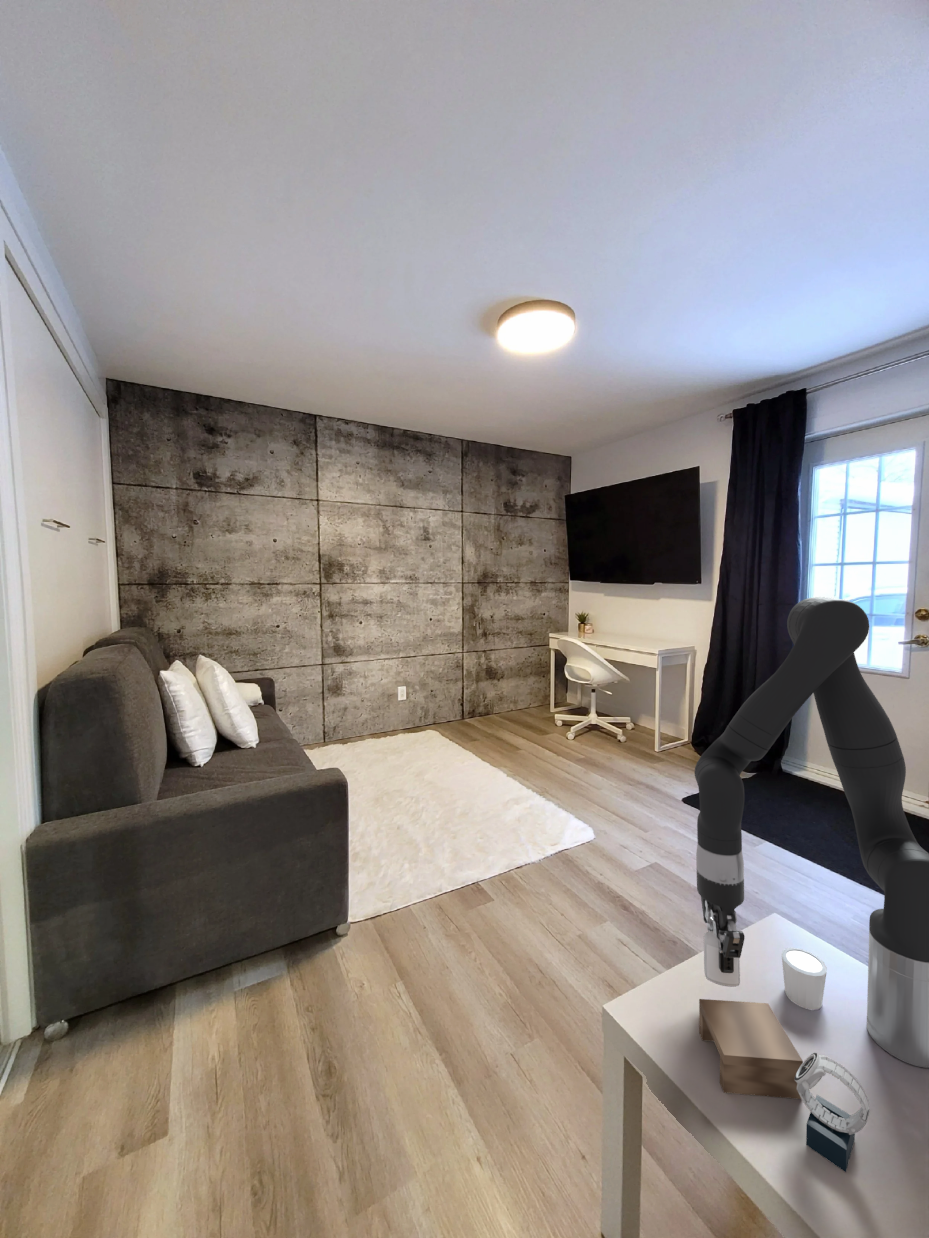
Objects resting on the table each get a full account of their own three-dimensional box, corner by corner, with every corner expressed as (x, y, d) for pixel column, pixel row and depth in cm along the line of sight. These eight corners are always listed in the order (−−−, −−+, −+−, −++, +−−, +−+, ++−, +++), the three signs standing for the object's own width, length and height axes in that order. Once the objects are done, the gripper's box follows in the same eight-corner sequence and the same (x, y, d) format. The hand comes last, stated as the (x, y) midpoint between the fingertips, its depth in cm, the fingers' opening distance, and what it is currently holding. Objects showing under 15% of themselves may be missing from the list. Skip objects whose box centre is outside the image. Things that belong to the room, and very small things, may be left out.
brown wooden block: (767, 1037, 82) (768, 1003, 81) (802, 1099, 72) (802, 1060, 72) (699, 1032, 83) (699, 998, 83) (723, 1092, 73) (724, 1054, 73)
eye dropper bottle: (733, 995, 84) (732, 928, 84) (700, 977, 89) (699, 913, 88) (743, 981, 87) (742, 916, 87) (710, 964, 91) (709, 902, 91)
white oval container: (811, 982, 93) (812, 947, 92) (835, 1014, 86) (836, 976, 85) (773, 980, 93) (774, 946, 93) (794, 1011, 87) (794, 974, 86)
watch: (800, 1104, 71) (801, 1033, 71) (871, 1150, 65) (873, 1072, 65) (789, 1133, 67) (790, 1058, 67) (863, 1185, 62) (865, 1103, 61)
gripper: (761, 895, 79) (763, 995, 80) (725, 849, 93) (726, 935, 94) (713, 894, 80) (715, 993, 81) (684, 848, 94) (686, 934, 95)
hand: (721, 961), depth 88 cm, fingers closed on eye dropper bottle, 3 cm apart
